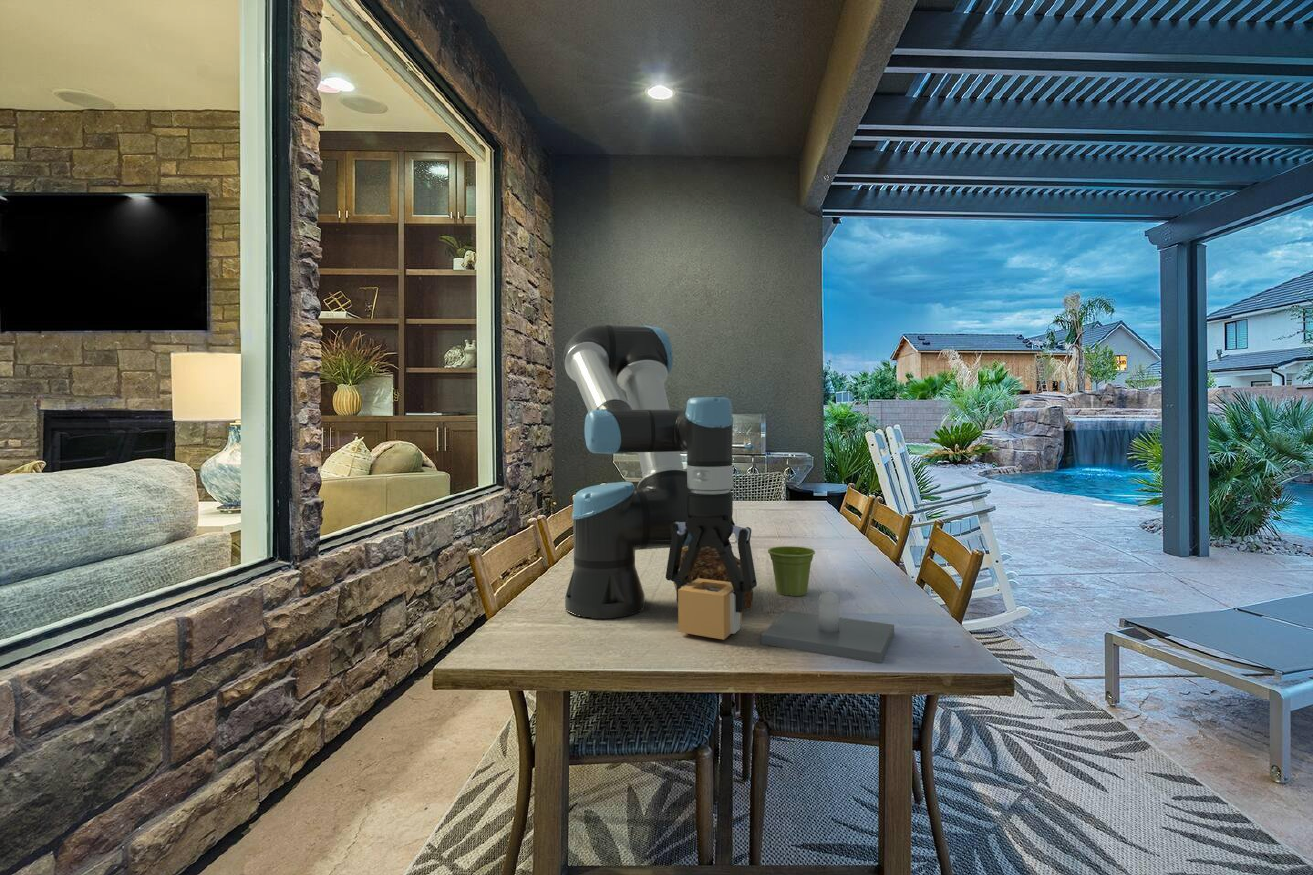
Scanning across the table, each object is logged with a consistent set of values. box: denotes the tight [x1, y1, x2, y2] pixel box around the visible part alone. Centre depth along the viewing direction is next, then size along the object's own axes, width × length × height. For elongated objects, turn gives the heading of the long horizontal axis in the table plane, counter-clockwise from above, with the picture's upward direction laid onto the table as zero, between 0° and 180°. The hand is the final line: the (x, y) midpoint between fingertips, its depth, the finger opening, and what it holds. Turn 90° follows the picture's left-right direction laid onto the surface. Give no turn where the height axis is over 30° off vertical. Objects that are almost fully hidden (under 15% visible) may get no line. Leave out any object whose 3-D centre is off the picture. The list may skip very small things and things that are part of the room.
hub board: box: [760, 591, 895, 664], centre depth 102 cm, size 18×14×8 cm
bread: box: [673, 546, 754, 611], centre depth 126 cm, size 19×11×10 cm, turn 17°
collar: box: [677, 578, 743, 640], centre depth 106 cm, size 8×8×7 cm
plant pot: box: [767, 545, 816, 597], centre depth 130 cm, size 9×9×9 cm
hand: (710, 626), depth 106 cm, fingers closed on collar, 8 cm apart
